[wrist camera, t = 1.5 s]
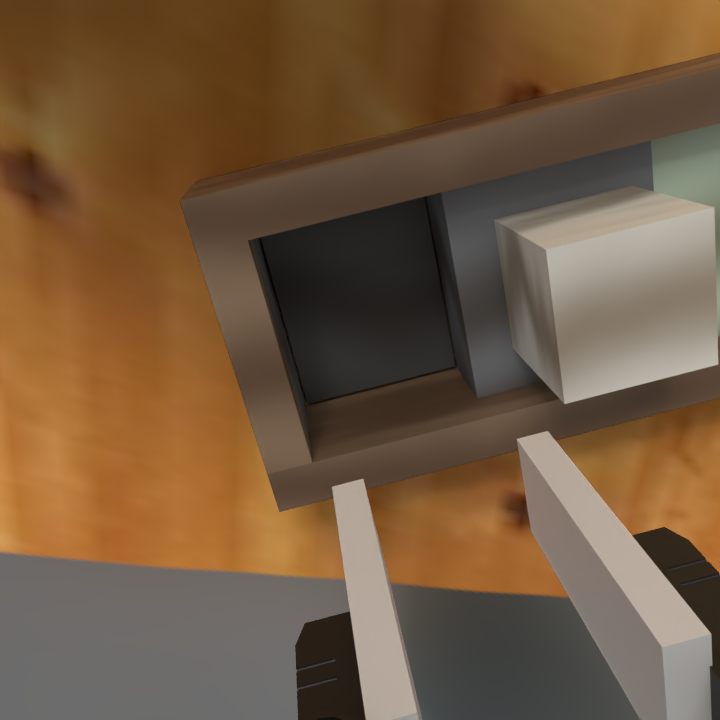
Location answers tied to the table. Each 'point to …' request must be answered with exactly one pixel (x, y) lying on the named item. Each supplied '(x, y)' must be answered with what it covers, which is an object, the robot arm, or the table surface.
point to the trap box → (431, 278)
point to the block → (611, 290)
